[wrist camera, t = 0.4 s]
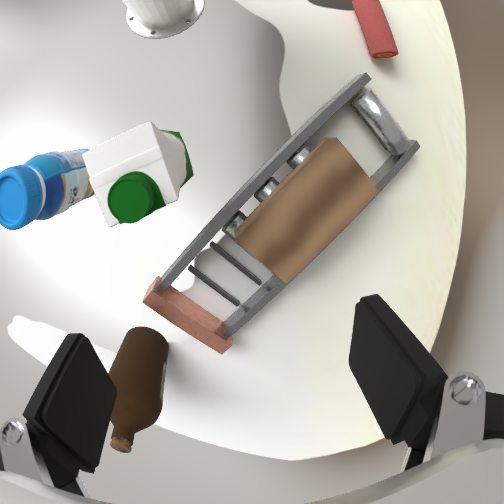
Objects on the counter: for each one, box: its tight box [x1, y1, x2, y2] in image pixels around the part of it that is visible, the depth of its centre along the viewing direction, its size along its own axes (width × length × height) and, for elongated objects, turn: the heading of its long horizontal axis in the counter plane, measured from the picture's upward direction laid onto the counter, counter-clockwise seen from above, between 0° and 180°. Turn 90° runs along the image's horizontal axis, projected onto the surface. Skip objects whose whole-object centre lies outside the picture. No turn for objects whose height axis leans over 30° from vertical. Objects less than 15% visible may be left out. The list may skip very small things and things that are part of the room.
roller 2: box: [254, 177, 280, 203], centre depth 42 cm, size 12×4×4 cm, turn 46°
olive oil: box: [108, 327, 168, 453], centre depth 40 cm, size 11×11×25 cm
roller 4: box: [352, 89, 410, 155], centre depth 37 cm, size 11×4×4 cm, turn 46°
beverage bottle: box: [0, 149, 95, 230], centre depth 28 cm, size 8×8×20 cm
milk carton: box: [82, 121, 193, 227], centre depth 30 cm, size 9×9×20 cm
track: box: [143, 73, 420, 354], centre depth 42 cm, size 17×51×5 cm, turn 136°
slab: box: [234, 138, 379, 284], centre depth 38 cm, size 10×19×4 cm, turn 136°
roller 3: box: [287, 144, 312, 169], centre depth 40 cm, size 12×4×4 cm, turn 47°
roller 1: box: [222, 211, 279, 278], centre depth 43 cm, size 12×4×4 cm, turn 47°
